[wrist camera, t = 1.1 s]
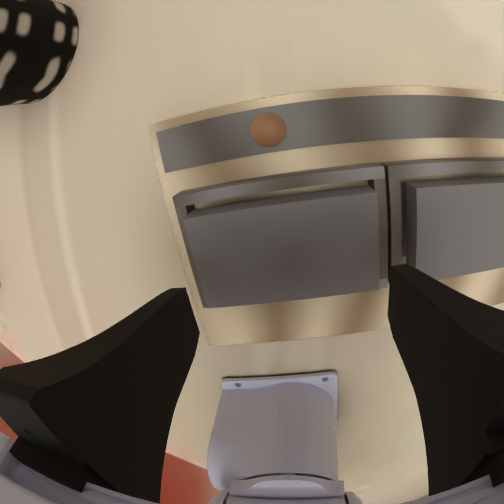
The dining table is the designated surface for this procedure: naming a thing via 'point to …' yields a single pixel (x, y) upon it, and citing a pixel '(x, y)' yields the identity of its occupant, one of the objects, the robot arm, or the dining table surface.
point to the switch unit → (327, 183)
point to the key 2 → (287, 247)
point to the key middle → (455, 225)
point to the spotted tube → (34, 48)
